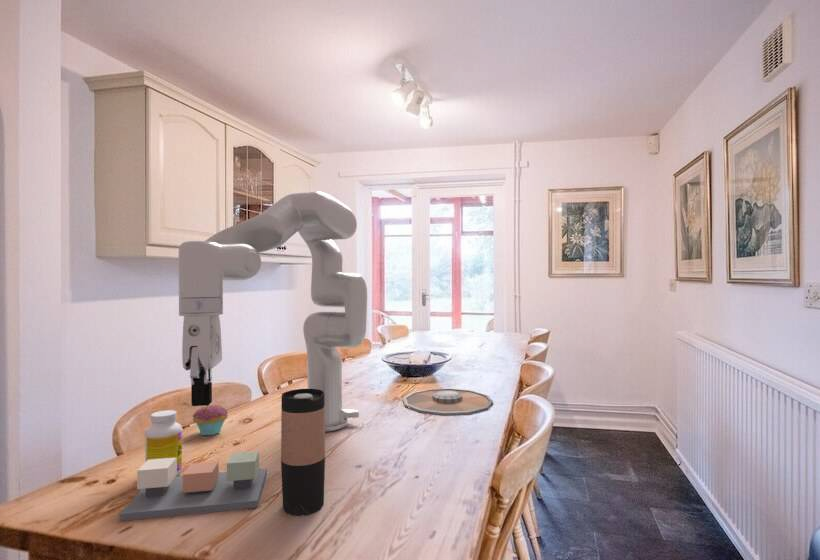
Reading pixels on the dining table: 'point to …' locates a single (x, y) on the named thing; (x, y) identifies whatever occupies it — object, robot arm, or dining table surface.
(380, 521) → the dining table surface
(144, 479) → the button cream
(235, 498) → the board
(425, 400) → the shield
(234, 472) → the button sage
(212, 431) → the cupcake
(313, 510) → the travel mug
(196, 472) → the button terracotta
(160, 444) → the supplement bottle
